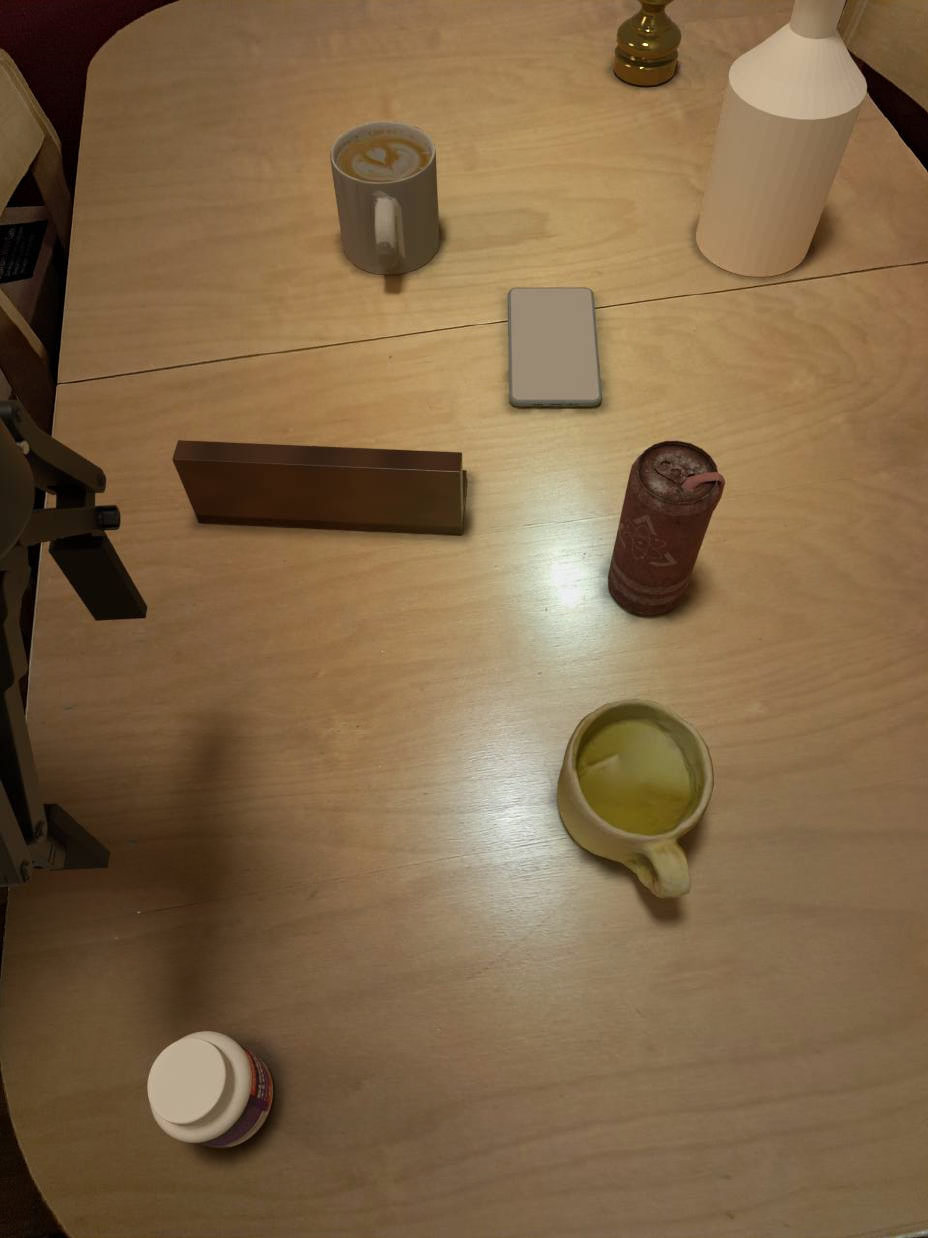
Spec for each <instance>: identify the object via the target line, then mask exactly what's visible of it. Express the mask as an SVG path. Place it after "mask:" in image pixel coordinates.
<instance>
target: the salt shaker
mask: <svg viewBox="0 0 928 1238" xmlns="http://www.w3.org/2000/svg"><path fill="white" fill-rule="evenodd" d="M637 1H638V3H639V4H640V10H638V12H636V13H634V14H633V15H632V16H631V17H629V18H627V19H626V20H624V21H623V22H622V23H621V24H620V25H619V27H618V29H617V32H616V44H617V45H616V47H615V48H614V61H613V71H614V73H615V74H616V76H617V77H618V78H620V79H621V80H622V81H624V82H626V83H628V84H631V85H635V86H641V87H648V86H650V87H651V86H657V85H660V84H663V83H665V82H667V81H669V80H670V79H671V78H673V76H674V74H675V72H676V66H677V61H678V58H679V51H678V48H679V47H680V44H681V41H682V31H681V29H680V27H679V26H678V24H677V23H676V22H674V20H672V18H671V17H670V16H669V15H668V14H667V13H666V8H667V6H668V5H669V4H671V3H673V2H674V1H675V0H637Z"/></svg>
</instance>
